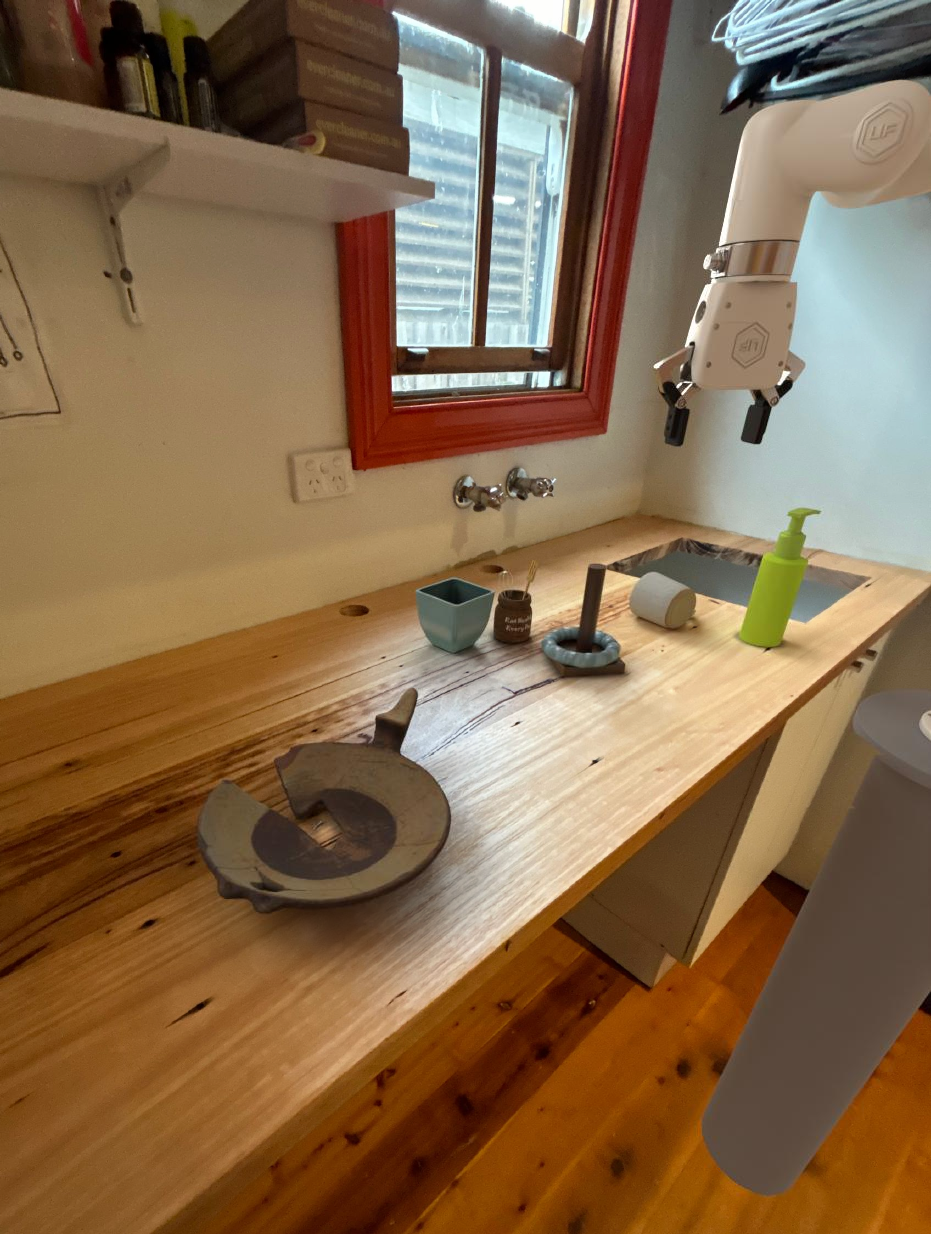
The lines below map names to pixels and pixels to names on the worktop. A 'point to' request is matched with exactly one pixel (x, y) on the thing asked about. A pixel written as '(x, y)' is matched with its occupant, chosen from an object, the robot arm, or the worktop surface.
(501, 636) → the utensil holder
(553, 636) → the ring
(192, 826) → the worktop surface
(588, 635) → the peg stand
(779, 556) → the soap dispenser
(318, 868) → the oil lamp
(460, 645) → the flower pot
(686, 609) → the ceramic mug
